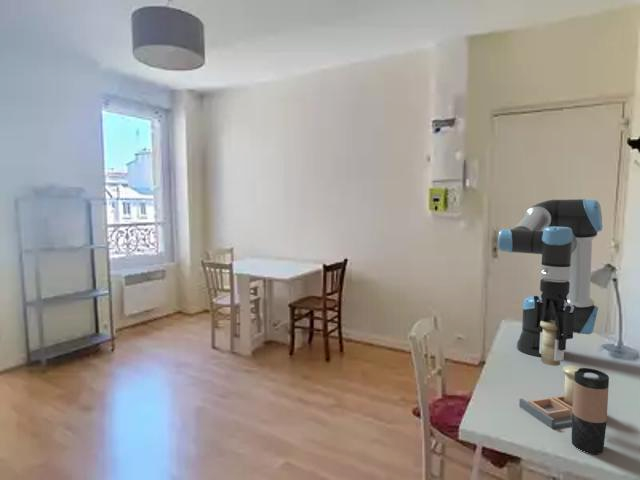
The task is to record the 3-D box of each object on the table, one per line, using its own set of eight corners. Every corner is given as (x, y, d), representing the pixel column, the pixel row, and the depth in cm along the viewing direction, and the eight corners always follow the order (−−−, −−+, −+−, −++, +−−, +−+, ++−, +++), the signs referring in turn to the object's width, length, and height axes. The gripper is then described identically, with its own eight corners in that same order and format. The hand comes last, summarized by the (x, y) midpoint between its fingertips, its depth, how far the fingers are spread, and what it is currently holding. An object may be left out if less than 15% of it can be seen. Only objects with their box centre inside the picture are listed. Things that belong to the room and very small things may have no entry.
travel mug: (610, 456, 107) (615, 381, 104) (577, 453, 108) (582, 379, 106) (596, 439, 114) (600, 368, 112) (565, 436, 115) (569, 366, 113)
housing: (519, 406, 132) (520, 366, 131) (568, 398, 137) (571, 360, 135) (551, 428, 120) (553, 384, 118) (604, 419, 124) (607, 376, 123)
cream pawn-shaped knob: (551, 357, 129) (552, 319, 128) (568, 365, 123) (570, 325, 122) (533, 359, 128) (535, 321, 126) (550, 367, 121) (552, 327, 120)
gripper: (522, 274, 130) (519, 347, 133) (569, 286, 113) (565, 369, 115) (542, 273, 132) (539, 345, 135) (592, 285, 115) (587, 366, 117)
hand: (551, 356), depth 125 cm, fingers closed on cream pawn-shaped knob, 5 cm apart
